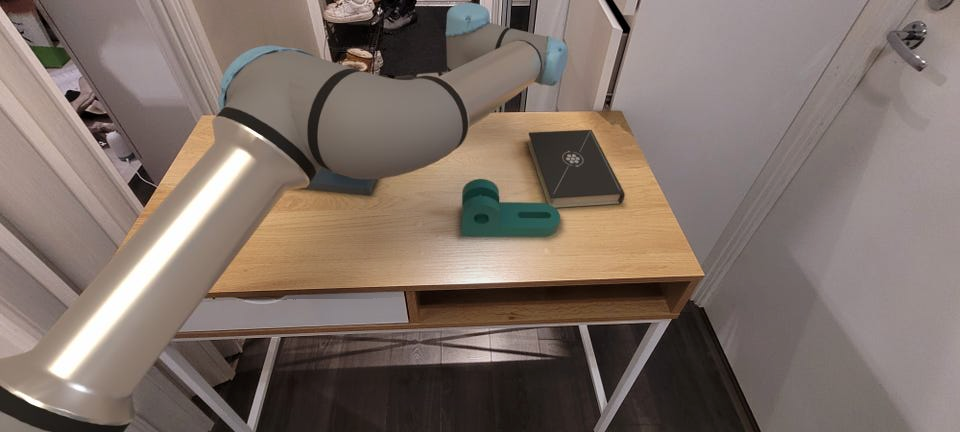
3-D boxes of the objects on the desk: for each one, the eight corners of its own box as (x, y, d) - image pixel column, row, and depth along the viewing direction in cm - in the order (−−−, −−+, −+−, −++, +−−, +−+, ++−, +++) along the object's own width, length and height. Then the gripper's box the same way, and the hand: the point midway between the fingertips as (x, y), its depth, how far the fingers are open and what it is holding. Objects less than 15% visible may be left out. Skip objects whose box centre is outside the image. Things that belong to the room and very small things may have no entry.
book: (622, 204, 90) (626, 193, 88) (548, 209, 88) (551, 197, 86) (590, 140, 105) (592, 129, 103) (527, 143, 104) (528, 132, 102)
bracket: (461, 236, 83) (461, 204, 77) (462, 210, 87) (462, 178, 82) (560, 237, 83) (567, 205, 78) (555, 211, 88) (562, 180, 83)
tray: (278, 186, 91) (275, 179, 89) (304, 146, 100) (302, 138, 99) (370, 195, 90) (369, 187, 88) (387, 154, 99) (386, 146, 98)
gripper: (428, 149, 82) (304, 163, 78) (409, 81, 99) (307, 90, 95) (426, 112, 76) (293, 125, 72) (406, 48, 94) (298, 55, 90)
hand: (300, 105), depth 84 cm, fingers open, 13 cm apart
